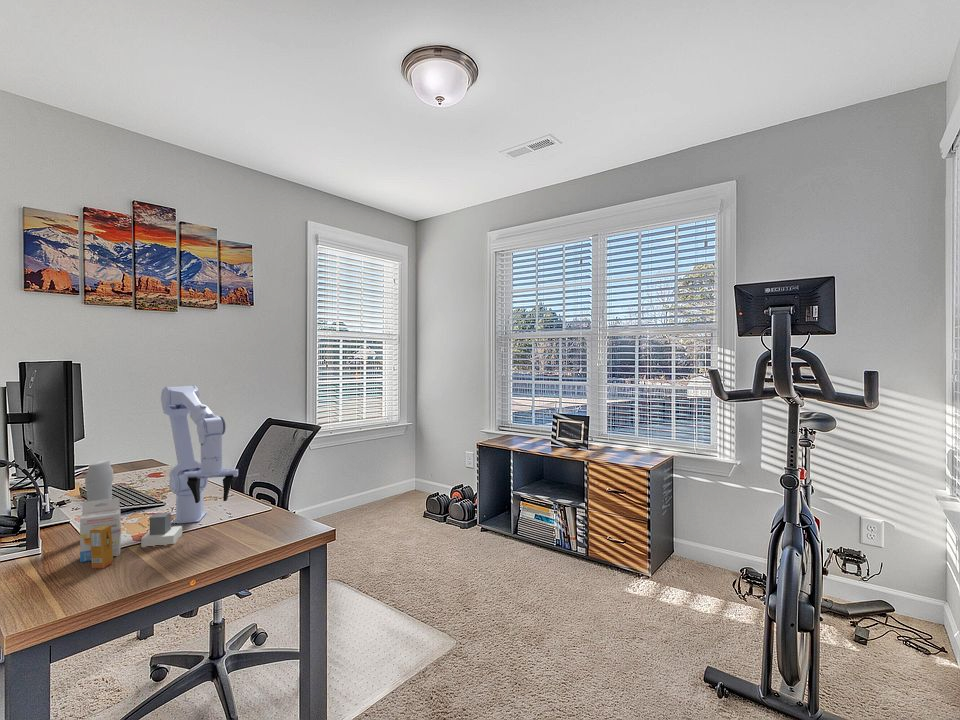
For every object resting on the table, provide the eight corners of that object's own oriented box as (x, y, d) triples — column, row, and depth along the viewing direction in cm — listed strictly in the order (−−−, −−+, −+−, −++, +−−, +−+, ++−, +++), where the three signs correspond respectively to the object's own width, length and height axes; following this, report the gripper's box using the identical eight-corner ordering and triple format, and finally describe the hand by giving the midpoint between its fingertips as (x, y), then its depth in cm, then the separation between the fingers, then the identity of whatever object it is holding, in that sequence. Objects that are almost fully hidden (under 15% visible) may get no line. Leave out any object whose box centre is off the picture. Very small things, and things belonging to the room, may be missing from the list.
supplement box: (100, 563, 128) (100, 524, 127) (113, 563, 127) (112, 525, 127) (89, 568, 124) (89, 529, 124) (103, 569, 124) (102, 529, 124)
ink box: (79, 563, 127) (78, 507, 127) (82, 556, 132) (81, 502, 131) (120, 556, 132) (119, 501, 132) (121, 549, 136) (120, 496, 136)
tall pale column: (93, 540, 143) (92, 464, 142) (79, 540, 143) (78, 464, 142) (119, 527, 153) (119, 456, 153) (106, 527, 153) (105, 456, 153)
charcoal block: (155, 530, 144) (155, 513, 144) (170, 529, 145) (170, 512, 145) (149, 535, 140) (149, 517, 140) (165, 534, 141) (165, 516, 141)
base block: (151, 538, 145) (151, 528, 145) (182, 535, 148) (182, 525, 148) (141, 549, 138) (141, 538, 138) (173, 545, 140) (173, 535, 140)
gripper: (180, 461, 144) (180, 507, 144) (234, 458, 147) (234, 503, 148) (187, 455, 150) (188, 500, 151) (239, 453, 154) (239, 496, 154)
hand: (211, 501), depth 150 cm, fingers open, 7 cm apart
